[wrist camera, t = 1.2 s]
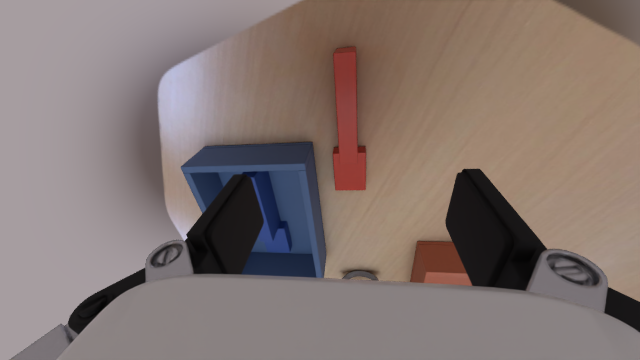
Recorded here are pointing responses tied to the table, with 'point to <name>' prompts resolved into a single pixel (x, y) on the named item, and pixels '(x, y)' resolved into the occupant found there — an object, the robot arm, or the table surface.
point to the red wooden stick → (347, 124)
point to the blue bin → (290, 194)
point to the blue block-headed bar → (270, 215)
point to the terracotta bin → (438, 264)
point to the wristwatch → (360, 273)
